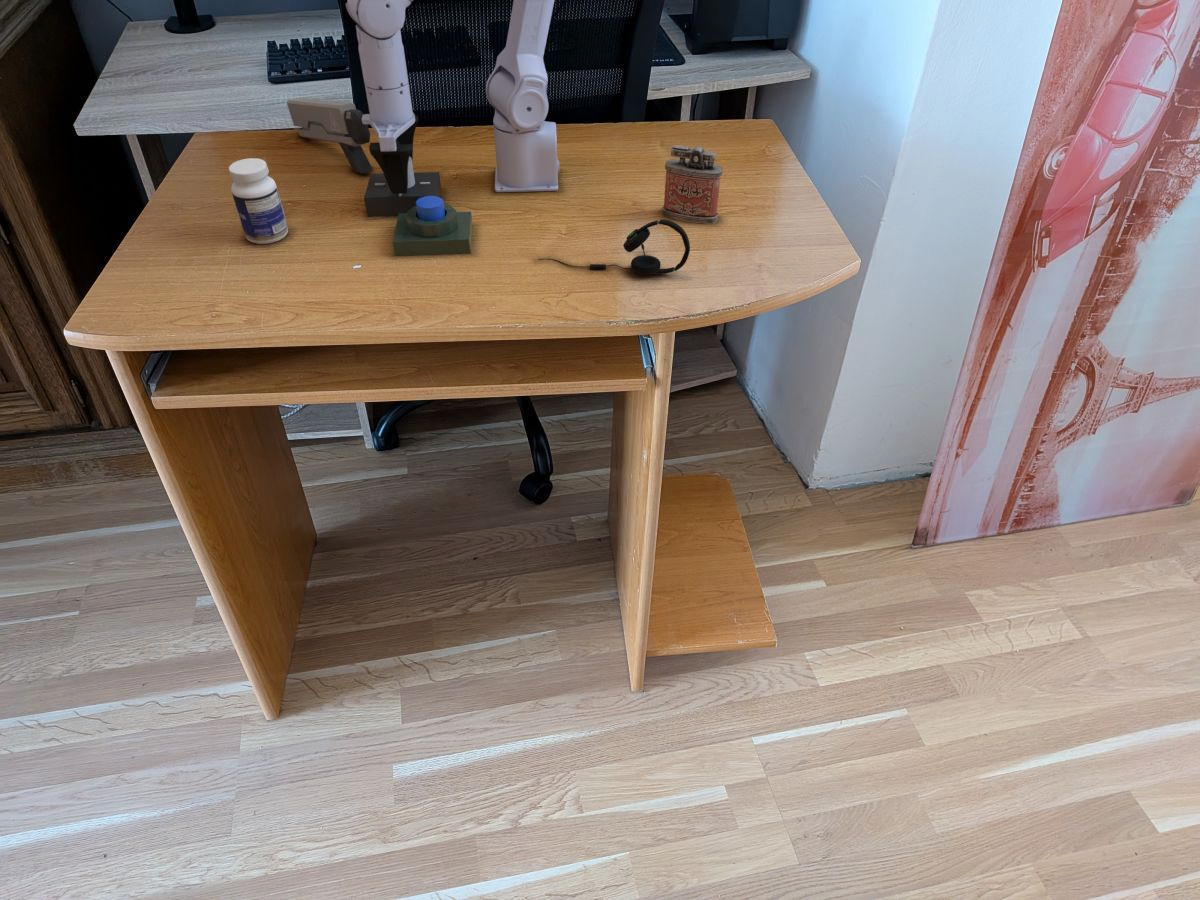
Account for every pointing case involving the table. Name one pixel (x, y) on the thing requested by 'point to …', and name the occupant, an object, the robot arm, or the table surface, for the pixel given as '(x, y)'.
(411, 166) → the dimmer knob
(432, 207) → the power button
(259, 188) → the pill bottle
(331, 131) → the gun
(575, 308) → the table surface
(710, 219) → the lighter
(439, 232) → the switch box
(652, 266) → the headset
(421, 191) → the dimmer console
